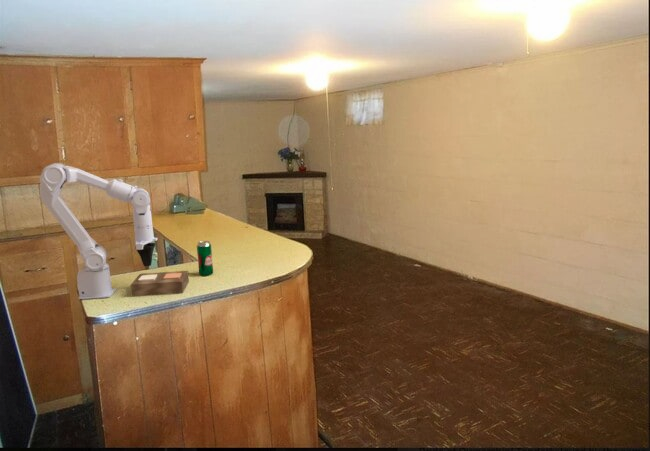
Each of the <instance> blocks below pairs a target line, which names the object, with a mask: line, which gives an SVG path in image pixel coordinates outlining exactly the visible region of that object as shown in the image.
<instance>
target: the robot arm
mask: <svg viewBox="0 0 650 451" xmlns="http://www.w3.org/2000/svg"><path fill="white" fill-rule="evenodd" d="M66 182H67V184H69V183H71V184H72V183H76V182H78V183H82V184H85V185H88V186H91V187H94V188H97V189H101V190H103V191H104V192H105V193H106V195H107V196H108V197H110V198H113V199H116V200H118V201H121V202H124V203H127V204H128V203H131V205H132V210H133V212H132V219H133V228H134V229H133V230H134V244H135V250H136V252H137V253H138V255H139V257H140V260H141V263H142V265H143V267H151V265H152V262H153V253H154V250H155V246H156V242H157V241H158V237H155V236H154V235H155V234H154V225H153V219H152V218H153V217H152V211H151V205H150V203H151V198H150V194H149V192H148V191H147V190H145V188H143V187H138V185H134V186H133V185H131V184H128V183H126V182H124V181H123V179H120V178H118V179H116V178H113V179H111V180H107V179H104V178H102V177H100V176H97V175H95V174H92V173H90V172H87V171H85V170H83V169H80V168H77V167H75V166H71V165H65V164H63V163H60V162H54V163H51V164H49V165H47V166H45V167H44V168H43V169H42V171H41V174H40V176H39V185H40V200H41V201H42V203H43V204H44V205H45V207H46V208H47V209H48V210H49V212H50V213H51V215H53V217H54V218H55V220H56V221H57V222H58V224H59V225H60V227H61V228H62V229H63V230H64V231H65V233H66V234H67V235H68V237H69V238H70V239H71V240H72V242H73V243H74V244H75V246H76V247H77V249H78V252H79V254H80V256H81V257H82V259H83V264H84V266H85V267H84V268H83V269H79V270H78V272H77V275H76V282H77V289H78V290H77V291H78V300H88V299H89V300H90V299H103V298H105V299H106V298H110V297H111V296H112V295H113V294H114V293H115V292H116V290H117V288H112V279H111V272H110V264H108V263H107V256H108V252H107V250H106V248H105V247H103V246H102V245H100V244H99V243H97V241H96V240H95V239H93V238H92V236H91V235H90V234H89V233H88V232H87V230H86V228H84V226H83V225H82V224H81V222H80V221H79V220H78V218H77V217H76V215H75V214H74V212H72V210H71V209H70V207H69V206H68V205H67V203H66V202H65V201H64V199H63V198H62V197H61V195H62V191H63V187H64V184H65V183H66ZM155 241H156V242H155Z"/></svg>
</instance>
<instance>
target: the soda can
mask: <svg viewBox="0 0 650 451" xmlns="http://www.w3.org/2000/svg"><path fill="white" fill-rule="evenodd" d="M212 251H213V250H212V244H211V241H209V240H200V241H198V242H197V245H196V252H197V253H196V254H197V264H198V274H199V275H200V276H201V277H207V276H212V275H213V274H214V265H213V252H212Z"/></svg>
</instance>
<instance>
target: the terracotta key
mask: <svg viewBox="0 0 650 451" xmlns="http://www.w3.org/2000/svg"><path fill="white" fill-rule="evenodd" d="M181 276H182V273H172V274H166V275H165V277H164V278H163V280H166V279H180V277H181Z"/></svg>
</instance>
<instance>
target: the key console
mask: <svg viewBox="0 0 650 451" xmlns="http://www.w3.org/2000/svg"><path fill="white" fill-rule="evenodd" d="M172 273H182V276H181V277H180V279H166V280H163V278H164V277H165V275H166V274H172ZM156 274H157V278H156V279H155V280H150V281H138V279H139V278H140V277H141V276H142V275H156ZM189 278H190V277H189V271H188V270H180V271H179V270H178V271H164V272H163V271H162V272H160V271H159V272H148V273H147V272H145V273H144V272H143V273H139V275H137V277H135V279H134V280H133V281H132V282H131V283H130V290H131V297H145V296H160V295H161V296H162V295H175V294H176V295H178V294H183V293H184V292H185V291H186V289H187V287H188V284H189V281H190V280H189Z"/></svg>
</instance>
